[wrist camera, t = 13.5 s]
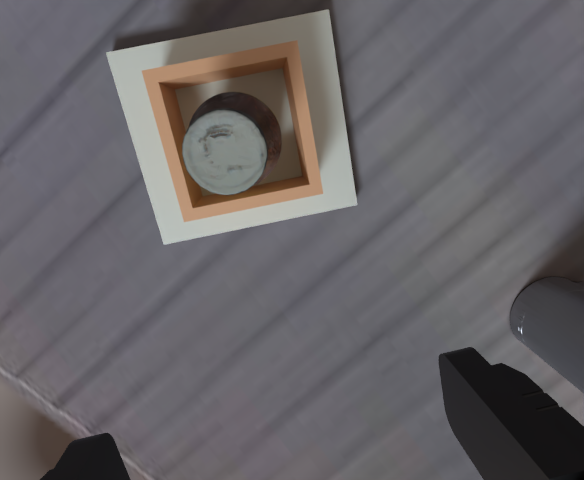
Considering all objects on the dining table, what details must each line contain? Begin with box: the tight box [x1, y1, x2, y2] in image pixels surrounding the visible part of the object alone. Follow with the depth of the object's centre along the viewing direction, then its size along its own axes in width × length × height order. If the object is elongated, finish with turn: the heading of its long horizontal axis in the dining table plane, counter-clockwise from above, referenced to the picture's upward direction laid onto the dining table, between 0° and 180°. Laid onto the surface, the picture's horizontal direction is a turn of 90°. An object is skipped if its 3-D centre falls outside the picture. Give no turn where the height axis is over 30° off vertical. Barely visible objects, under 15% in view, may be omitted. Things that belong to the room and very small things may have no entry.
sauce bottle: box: [182, 92, 282, 195], centre depth 28 cm, size 7×6×20 cm
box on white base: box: [106, 9, 357, 245], centre depth 35 cm, size 20×18×8 cm
